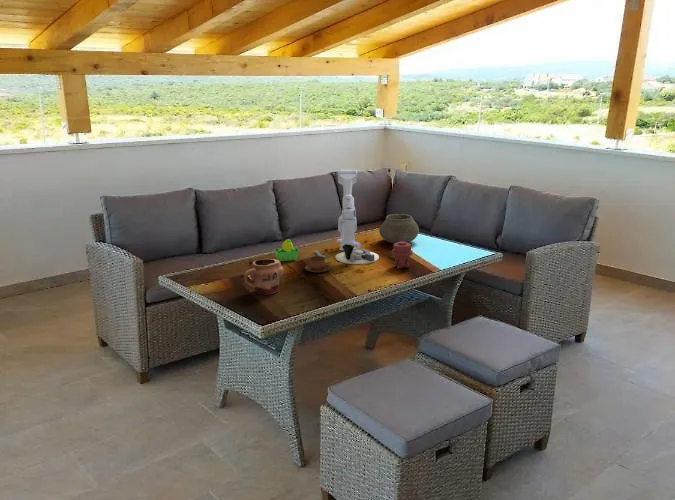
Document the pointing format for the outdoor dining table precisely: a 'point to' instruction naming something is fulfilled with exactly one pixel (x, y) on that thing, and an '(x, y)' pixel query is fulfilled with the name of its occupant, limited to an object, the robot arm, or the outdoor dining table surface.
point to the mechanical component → (402, 254)
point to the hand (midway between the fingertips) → (348, 259)
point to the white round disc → (368, 259)
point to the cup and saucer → (317, 265)
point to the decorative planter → (265, 276)
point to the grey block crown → (354, 256)
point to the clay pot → (399, 228)
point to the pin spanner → (320, 254)
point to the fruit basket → (287, 252)
